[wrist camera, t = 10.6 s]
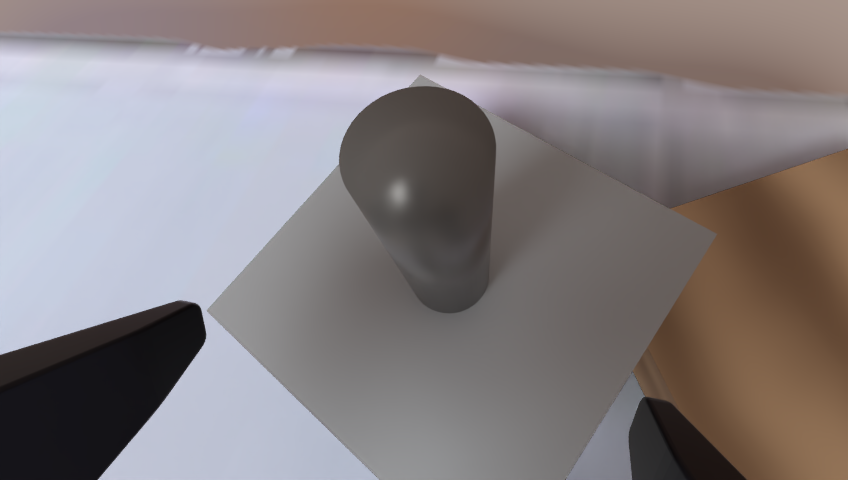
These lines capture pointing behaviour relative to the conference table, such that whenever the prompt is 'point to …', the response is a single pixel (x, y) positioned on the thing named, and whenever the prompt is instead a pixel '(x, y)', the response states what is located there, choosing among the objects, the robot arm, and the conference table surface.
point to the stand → (765, 326)
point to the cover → (460, 293)
